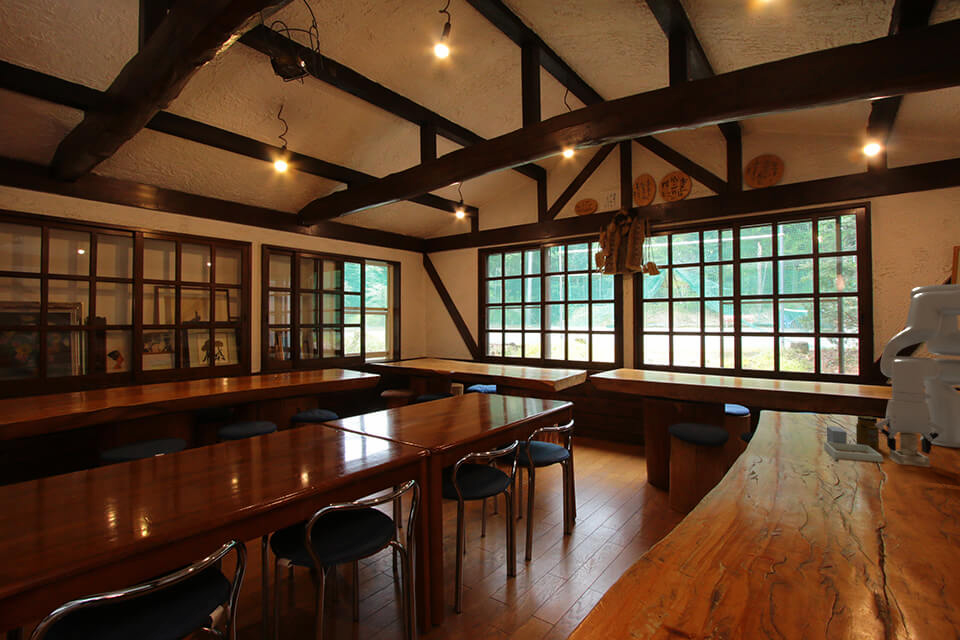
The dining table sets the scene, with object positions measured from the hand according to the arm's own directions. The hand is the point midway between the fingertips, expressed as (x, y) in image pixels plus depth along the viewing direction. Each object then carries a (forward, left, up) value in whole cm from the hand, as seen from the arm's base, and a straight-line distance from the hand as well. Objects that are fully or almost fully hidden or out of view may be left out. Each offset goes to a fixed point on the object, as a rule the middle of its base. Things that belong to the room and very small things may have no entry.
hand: (908, 450), depth 141 cm
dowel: (0, 0, -3) cm, 3 cm away
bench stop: (+15, -13, -4) cm, 21 cm away
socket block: (0, 0, -4) cm, 4 cm away
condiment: (+7, -13, -5) cm, 15 cm away
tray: (+14, -3, -4) cm, 15 cm away
